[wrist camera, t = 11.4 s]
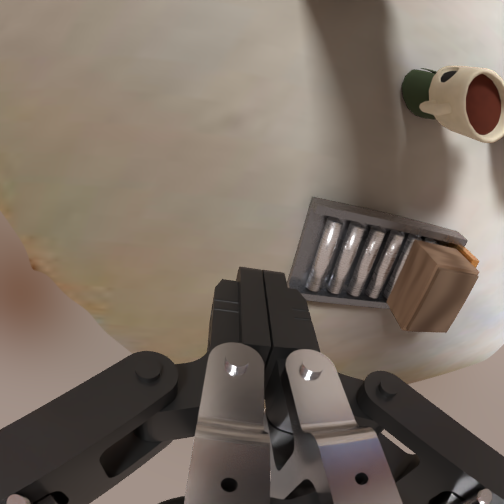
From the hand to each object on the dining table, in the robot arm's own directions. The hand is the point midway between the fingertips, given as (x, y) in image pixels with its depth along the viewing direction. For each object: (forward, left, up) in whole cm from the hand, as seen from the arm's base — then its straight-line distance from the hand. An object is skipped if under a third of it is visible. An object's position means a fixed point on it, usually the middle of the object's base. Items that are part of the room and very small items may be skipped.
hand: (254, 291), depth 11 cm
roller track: (-1, +24, -27) cm, 36 cm away
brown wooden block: (-4, +29, -24) cm, 38 cm away
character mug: (-20, +11, -27) cm, 35 cm away
